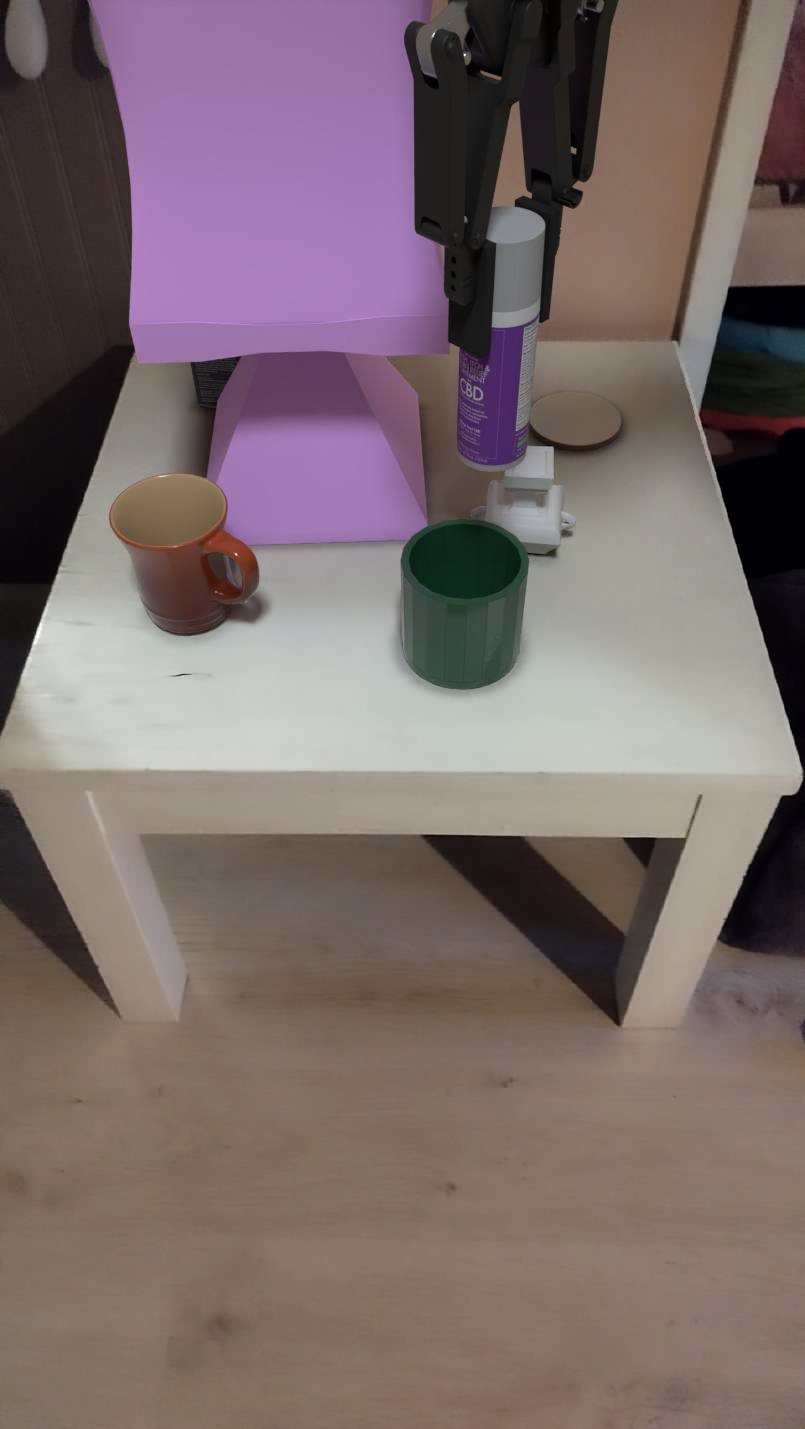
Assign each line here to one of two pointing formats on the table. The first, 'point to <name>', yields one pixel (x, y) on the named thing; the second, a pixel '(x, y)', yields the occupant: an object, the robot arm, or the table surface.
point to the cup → (462, 602)
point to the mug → (183, 550)
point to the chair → (284, 248)
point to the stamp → (529, 502)
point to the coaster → (575, 421)
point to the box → (212, 379)
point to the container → (504, 349)
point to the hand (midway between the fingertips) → (499, 329)
